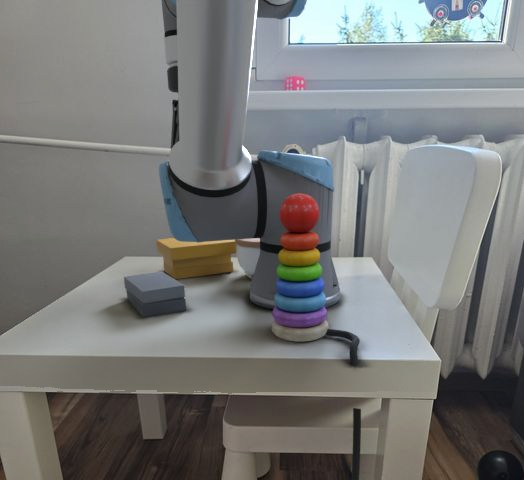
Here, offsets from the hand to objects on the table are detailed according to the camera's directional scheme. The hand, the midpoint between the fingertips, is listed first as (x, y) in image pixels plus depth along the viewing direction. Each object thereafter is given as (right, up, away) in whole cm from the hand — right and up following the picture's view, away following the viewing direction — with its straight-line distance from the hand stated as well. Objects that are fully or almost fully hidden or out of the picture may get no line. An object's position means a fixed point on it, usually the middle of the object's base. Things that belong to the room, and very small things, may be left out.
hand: (195, 190), depth 97 cm
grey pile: (-5, -24, -15) cm, 28 cm away
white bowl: (+13, -17, +2) cm, 21 cm away
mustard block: (0, -11, +5) cm, 12 cm away
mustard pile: (0, -15, +6) cm, 16 cm away
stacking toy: (+18, -29, -28) cm, 44 cm away
